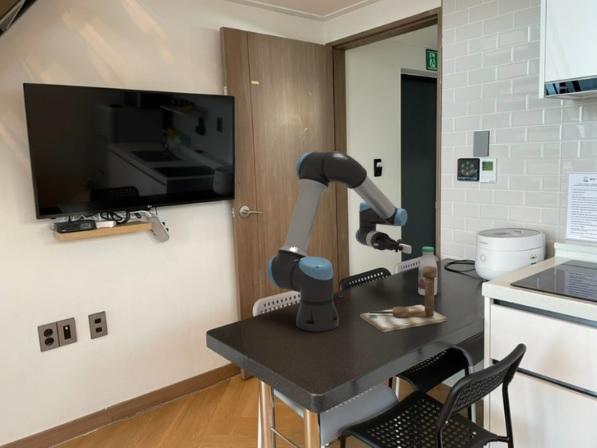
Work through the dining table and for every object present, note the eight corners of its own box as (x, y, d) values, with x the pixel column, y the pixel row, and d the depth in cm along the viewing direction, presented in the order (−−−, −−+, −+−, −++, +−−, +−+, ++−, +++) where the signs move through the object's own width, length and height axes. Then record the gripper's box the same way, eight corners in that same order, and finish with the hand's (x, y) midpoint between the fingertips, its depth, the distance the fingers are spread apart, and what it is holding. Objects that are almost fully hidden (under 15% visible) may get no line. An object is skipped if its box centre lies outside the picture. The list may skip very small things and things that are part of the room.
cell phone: (312, 304, 186) (312, 302, 186) (335, 296, 196) (335, 293, 196) (326, 308, 181) (326, 306, 180) (349, 299, 191) (349, 297, 191)
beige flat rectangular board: (382, 332, 154) (382, 327, 153) (360, 317, 169) (360, 313, 168) (447, 321, 162) (447, 316, 162) (420, 307, 177) (420, 303, 177)
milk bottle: (435, 291, 198) (435, 245, 195) (438, 296, 190) (439, 249, 187) (416, 291, 199) (417, 245, 196) (419, 296, 191) (420, 249, 188)
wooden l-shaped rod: (369, 316, 163) (369, 269, 161) (369, 311, 169) (368, 266, 166) (437, 317, 161) (438, 269, 158) (434, 312, 166) (435, 266, 164)
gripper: (391, 247, 199) (424, 258, 176) (364, 250, 194) (394, 261, 172) (391, 230, 198) (424, 238, 175) (364, 232, 193) (394, 241, 171)
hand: (409, 249), depth 174 cm, fingers closed
